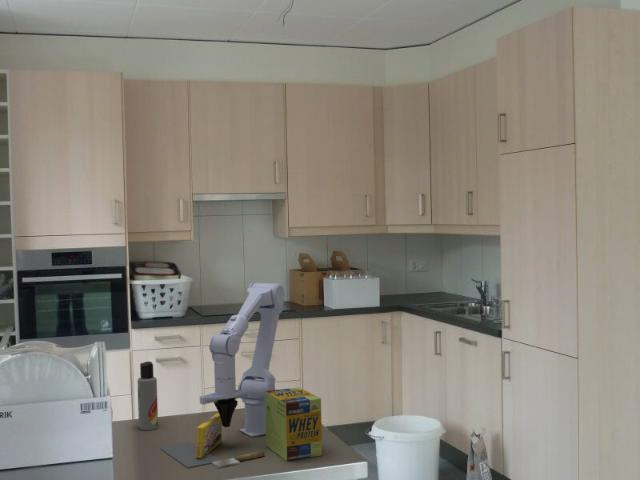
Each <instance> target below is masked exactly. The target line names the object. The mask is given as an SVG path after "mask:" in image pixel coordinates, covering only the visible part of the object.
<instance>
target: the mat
mask: <svg viewBox="0 0 640 480" xmlns="http://www.w3.org/2000/svg"><path fill="white" fill-rule="evenodd" d="M159 450H161V451H163V452H164V453H165V454H167V455H168V456H169V457H171V458H173V459H174V460H175V461H176V462H178V463H180V464H181V465H183V467H185V468H187V469H192V468H196V467H201V466H206V465H211V464H212V462H216V461H220V459H218V458H217V457H216V456H213V454H210V452H208V453H207V454H206V455H205V456H204V457H202V458H196V444H194V443H193V442H191V441H186V442H181V443H175V444H170V445H165V446H160V447H159ZM212 465H213V464H212Z"/></svg>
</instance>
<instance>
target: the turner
mask: <svg viewBox="0 0 640 480" xmlns="http://www.w3.org/2000/svg"><path fill="white" fill-rule="evenodd" d="M261 457H265V451H264V450H261V451H260V450H259V451H255V452H252V453H246V454H245V453H244V454H241V455H237V456H235V457H231V458H227V459H226V458H225V459H221V460H220V459H219V460H220V461H216V462H212V465H213V466H214V467H216V468H217V469H221V468H222V469H223V468H227V467H231V466H232V467H233V466H236V465H240V464H241V462H242V461H247V460H252V459H256V458H261Z"/></svg>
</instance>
